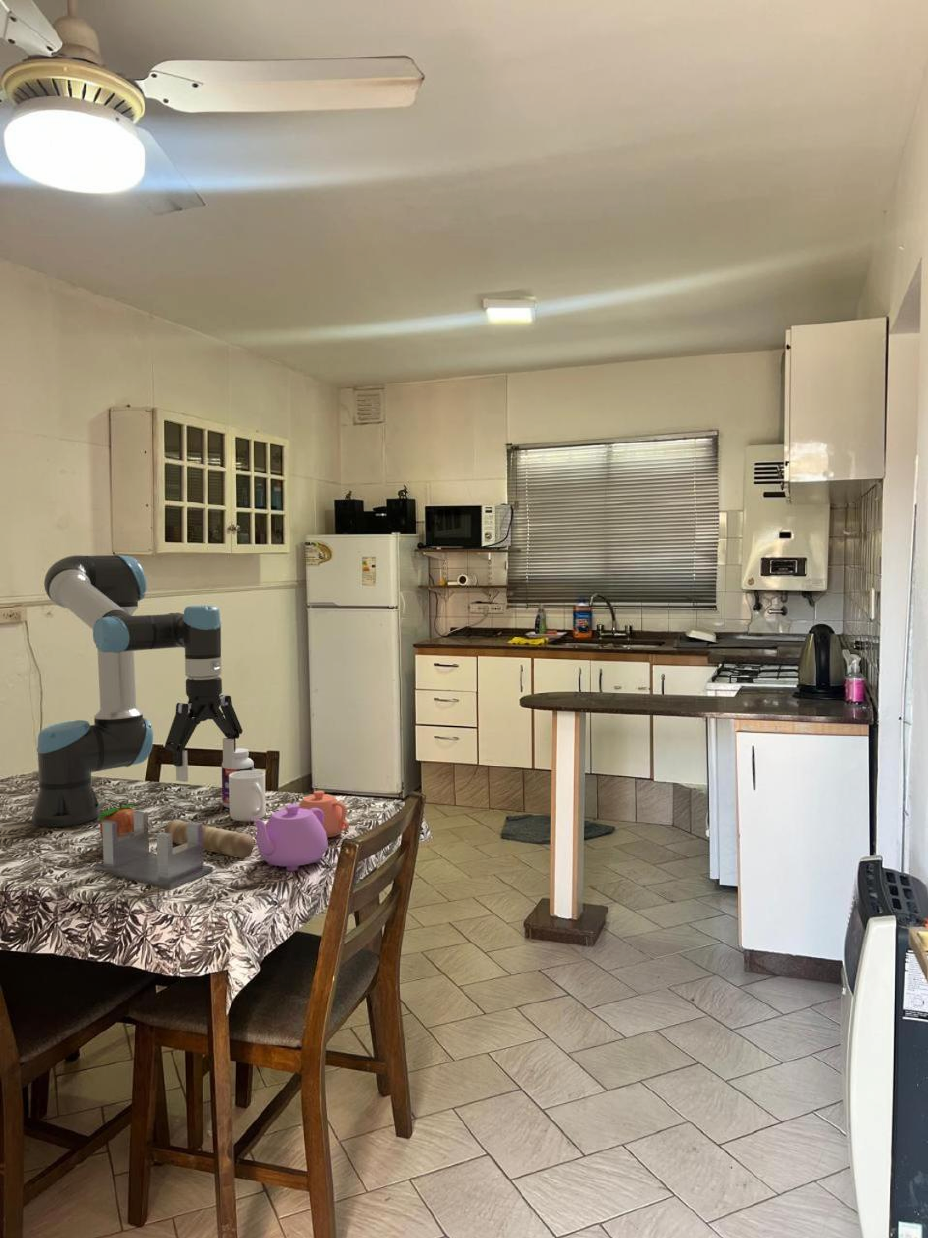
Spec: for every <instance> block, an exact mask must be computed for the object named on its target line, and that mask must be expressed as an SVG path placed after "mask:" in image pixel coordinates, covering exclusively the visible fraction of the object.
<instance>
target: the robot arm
mask: <svg viewBox="0 0 928 1238" xmlns="http://www.w3.org/2000/svg"><path fill="white" fill-rule="evenodd" d="M43 583H44V586H43V587H44V590H45V593H46V594H47V597H48V598H49V599H50V600H51V601H52V602H53V603H55V604H56V606H58V607H61V608H64V609H67V610H69V611H70V612H72V613H73V614H74V615H75V617H77V618H78V619H80V620H81V621H82V622H83V623H84V624H85V625H87V626H88V627H89V628H90V629H91V630H92V639H93V643H94V644H95V648H96V649H97V664H98V665H97V666H98V685H99V686H98V687H99V691H98V692H99V711H98V712H97V713H96V714H94V716H93V718H94V719H93V720H94V724H90V722H89V721H87V720H83V719H82V720H80V719H79V720H77V719H76V720H73V721H71V720H69V721H63V722H59V723H55V724H52V725H49V726H48V727H45V728H43V729H42V730H41V731H40V732H39V733H38V737H37V746H36V752H37V762H38V785H39V787H38V789H39V790H38V795H37V797H36V800H35V803H34V808H33V810H32V814H31V815H32V816H31V817H32V818H31V819H32V824H33V825H35V826H38V827H44V828H45V827H46V828H58V827H69V826H75V825H76V826H77V825H81V824H86V823H88V822H91V821H93V820H96V819H97V818H98V817H99V816H100V815H101V810H100V809H101V808H100V804H99V802H98V798H97V795H96V793H95V791H94V789H93V786H92V773H94V772H95V773H96V772H99V771H100V772H101V771H106V770H113V769H118V768H128V767H131V766H135V765H139V764H142V763H144V762H145V761H146V760H147V759H148V757H149V756H150V753H151V751H152V749H153V745H154V744H153V743H154V730H153V728H152V724H151V722H150V720H148V719H147V718H145V717H144V712H143V711H142V710H141V709H139V708H138V707H137V695H136V694H137V693H136V673H135V670H136V669H135V668H136V667H135V651H147V650H161V649H173V648H175V649H176V648H184V661H185V663H184V668H185V670H184V671H185V672H184V673H185V677H186V680H185V694H186V696H187V697H188V701H187V703H182V702H177V703H176V704H175V713H174V714H175V715H174V718H173V721H172V723H171V726H170V729H169V732H168V735H167V738H166V742H165V744H164V749H166V750H170V751H172V754H173V755H172V756H173V765H174V767H175V779H176V780H175V781H178V782H182V783H183V782H184V783H186V782H187V783H188V782H189V767H188V763H189V762H188V750H185V748H186V747H187V745H188V743H189V741H190V739H191V738H192V736H193V734H194V732H195V730H196V728H197V727H198V725H199V724H201V722H206V721H207V720H213V723H214V724H215V725H216V726H217V727H218V728H219V730H220V731H221V732H222V734H223V735H224V736H225V738H222V762H223V767H226V768H235V765H234V752H235V750H236V739H239V738H240V735H242V733H243V728H242V725H241V723H240V721H239V718H238V716H237V714H236V711H235V709H234V707H233V706H234V705H233V701H232V696H231V695H226V694H225V695H224V694H222V693H223V683H222V682H223V679H222V678H221V677H220V676H221V675H222V632H221V630H222V628H221V627H222V622H221V614H220V613H221V612H220V609H219V607H217V606H215V605H191V606H190V605H188V606H186V607H185V608H184V610H183V613H182V612H170V613H166V614H147V615H146V614H145V615H144V614H141V615H134V612H136V611H137V609H138V608H139V602H140V601H142V600H143V599H144V598H145V596H146V593H147V578H146V575H145V572H144V569H143V566H142V565H141V564H140V562H139V561H138V559H136V558H135V557H132V556H130V555H118V554H114V555H113V554H112V555H111V554H110V555H71V556H70V555H69V556H67V557H64V558H61V559H58V561H55V562H54V564H52V566H50V567H49V568H48V570H47V572H46V574H45V575H44V582H43Z"/></svg>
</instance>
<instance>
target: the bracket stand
mask: <svg viewBox="0 0 928 1238" xmlns="http://www.w3.org/2000/svg"><path fill="white" fill-rule="evenodd" d="M135 811H136V810H135ZM133 813H134V831H132V832H129V833H126V834H123V835H120V836H118V835H117V822H113V821H108V820H107V821H104V822H102V828H103V839H102V849H103V851H102V853H103V855H102V856H103V857H102V858H103V862H101V863H98V864H94V871H96V870H98V871H97V872H100V871H102V872H101V873H104V872H106V873H105V874H107V873H109V875H111V874H113V875H112V876H115V875H116V876H115V877H120V878H123V879H128V880H131V881H134V882H139V883H142V884H146V885H150V886H154V887H158V888H163V889H165V890H168V891H170V890H172V889H175V888H178V887H179V886H180V887H181V886H183V885H184V884H187V883H191V882H192V881H194V880H197V879H200V878H201V877H204V876H206V875H208V874H212V873H213V871H214V869H213V866H211V865H210V866H209V865H205V864H204V850H203V835H202V825H203V823H200V822H195V821H190V822H188V823H187V839H188V843H185V844H182V845H180V844H179V845H177V846H175V847H173V843H172V834H169V833H165V831H160V832H157V833H156V853H154V852H150V843H149V842H150V841H149V840H150V839H149V813H148V812H146V811H145V812H144V811H139V810H137V811H136V812H133Z"/></svg>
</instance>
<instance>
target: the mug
mask: <svg viewBox="0 0 928 1238" xmlns="http://www.w3.org/2000/svg"><path fill="white" fill-rule="evenodd" d="M229 801H230V808H229V817H230V819H232V820H233V821H235V822H253V821H252V820H251V819H257V820H262V818H264V817H265V816H266V809H267V808H266V773H265V772H264V771H262V770H255V769H254V770H245V771H238V772H234V773H231V774H230V775H229Z"/></svg>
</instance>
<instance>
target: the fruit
mask: <svg viewBox="0 0 928 1238" xmlns="http://www.w3.org/2000/svg"><path fill="white" fill-rule="evenodd" d="M118 805H119V807H116V808H109V809H107V810H105V811H103V812H100V815H99V817H97V818H98V819H102V820H101V821H100V827H99V832H100V836H101V840H103V828H102V822H104V821H107V820H108V821H113V822H117V835H118V836H120V835H123V834H126V833H129V832H132V831H134V813H133V812H136V810H134V809H133V808H135V809H139V807H138V806H136V805H122V801H120V802H119V803H118Z"/></svg>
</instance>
